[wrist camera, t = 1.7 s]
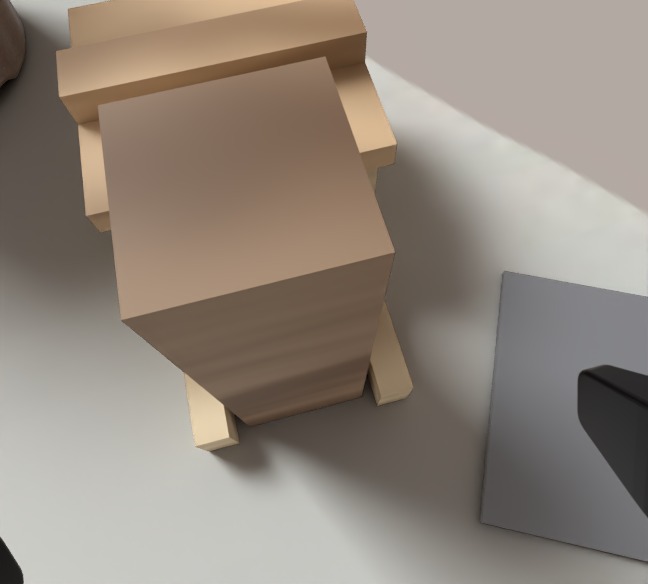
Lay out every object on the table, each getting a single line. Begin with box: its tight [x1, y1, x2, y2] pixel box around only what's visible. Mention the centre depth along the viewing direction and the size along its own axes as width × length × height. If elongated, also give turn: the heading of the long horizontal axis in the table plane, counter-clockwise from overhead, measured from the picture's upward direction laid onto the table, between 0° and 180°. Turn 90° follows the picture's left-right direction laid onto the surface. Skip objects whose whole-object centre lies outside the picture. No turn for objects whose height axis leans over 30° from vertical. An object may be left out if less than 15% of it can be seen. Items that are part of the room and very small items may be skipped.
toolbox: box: [56, 0, 414, 451], centre depth 19 cm, size 16×10×8 cm, turn 15°
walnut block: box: [98, 57, 395, 427], centre depth 15 cm, size 4×4×12 cm
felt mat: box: [480, 271, 648, 562], centre depth 19 cm, size 10×8×1 cm
